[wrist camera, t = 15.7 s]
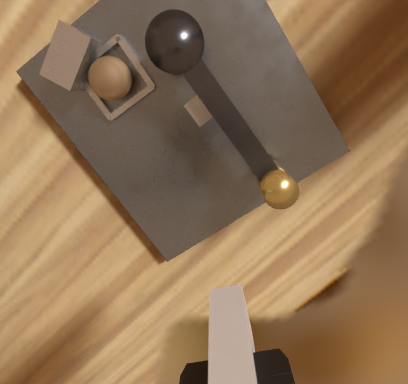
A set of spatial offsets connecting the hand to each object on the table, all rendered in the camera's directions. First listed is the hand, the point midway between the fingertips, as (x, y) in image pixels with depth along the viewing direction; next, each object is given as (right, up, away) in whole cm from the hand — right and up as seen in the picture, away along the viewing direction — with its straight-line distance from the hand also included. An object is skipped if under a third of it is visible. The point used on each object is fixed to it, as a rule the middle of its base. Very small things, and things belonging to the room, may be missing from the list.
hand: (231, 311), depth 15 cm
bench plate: (-3, +15, +20) cm, 25 cm away
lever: (+1, +14, +17) cm, 22 cm away
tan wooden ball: (-10, +17, +18) cm, 27 cm away
